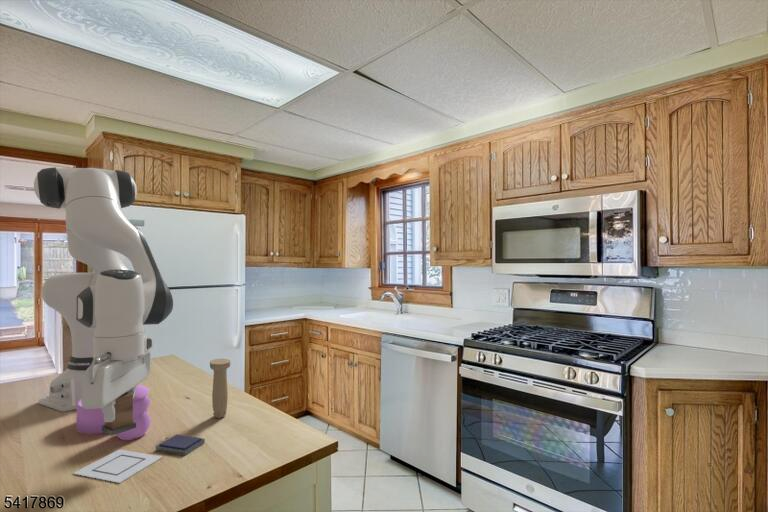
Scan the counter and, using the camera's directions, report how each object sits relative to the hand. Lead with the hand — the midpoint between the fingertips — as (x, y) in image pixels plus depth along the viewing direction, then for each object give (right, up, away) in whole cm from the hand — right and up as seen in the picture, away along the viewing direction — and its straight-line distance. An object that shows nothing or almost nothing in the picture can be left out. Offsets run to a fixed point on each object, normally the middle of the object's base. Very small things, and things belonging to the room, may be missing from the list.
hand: (119, 414), depth 80 cm
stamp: (0, -3, 0) cm, 3 cm away
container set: (-13, -11, +19) cm, 26 cm away
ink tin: (+8, -11, +8) cm, 16 cm away
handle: (+10, -11, +25) cm, 29 cm away
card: (0, -11, 0) cm, 11 cm away
